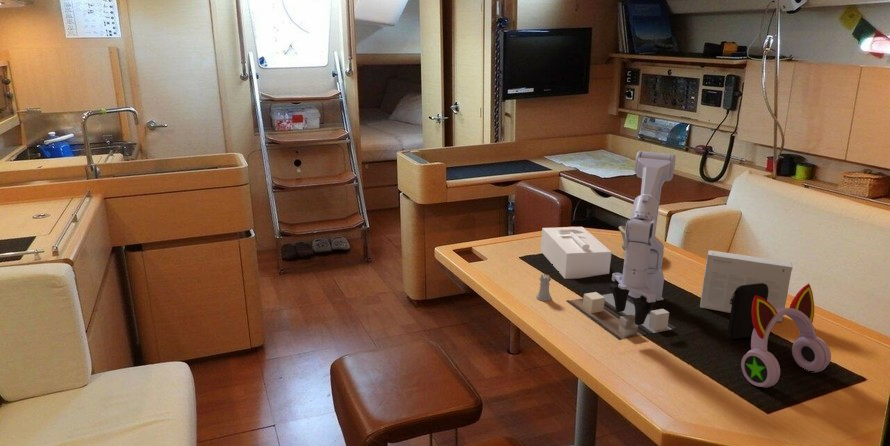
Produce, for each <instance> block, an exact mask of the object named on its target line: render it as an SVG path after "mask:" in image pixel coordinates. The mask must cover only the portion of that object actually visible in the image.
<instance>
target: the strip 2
mask: <svg viewBox="0 0 890 446" xmlns="http://www.w3.org/2000/svg"><path fill="white" fill-rule="evenodd" d="M601 295H602V296H603V297H605V301H606V302H608V303H609V304H611V305H612V306H614V307H615V301H614V297H613V293H612V292H611V293H607V294H606V293H605V294H601ZM615 308H616V307H615ZM621 312H623V313H624V314H626V315H631V314H633V315H635V306H634V304H633V303H631V302H629V301H628V300H627V301H626V307H625V310H624V311H621ZM669 317H670V312H669V311H668V310H666V309H664V308H659V309H655V310H654V309H653V310H650V314H649V313H648V315H647V317H646V319H645V321H644V324H641V325H642V326H644V327H645V328H647V329H648V330H650V331H651V332H653V333H652V334H655V333H661V332H665V331H672V328H671V327H669V326H668V323H669Z"/></svg>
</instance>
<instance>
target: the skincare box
mask: <svg viewBox="0 0 890 446" xmlns="http://www.w3.org/2000/svg"><path fill="white" fill-rule="evenodd" d="M792 271H793V263H792V261H785V260H779V259H773V258H772V259H771V258H766V257H759V256H751V255H745V254H738V253H731V252H724V251H717V250H711V249H709V250H708V252H707V257H706V263H705V270H704V274H703V275H704V276H703V280H702V281H703V282H702V288H701V296H700V304H699V307H700V308H701V309H705V310H706V309H708V310H713V311H719V312H724V313H728V314H730V313H731V307H732V304H730V300H731V298H732V295H733V293H734V292H735V290H736V288H737V287H739V286H741V285H748V284H757V283H765V284H766V285H767V286H768V291H769V292H768V298H767V301H768V302H769V303H770V304H771V305H772V306H773V307H782V308H786V303H787V299H788V293H789V288H790V282H791V281H790V280H791V275H792ZM783 321H784V315H783V316H782V317H780V318H779V319H778V320H777V321H776V322H779V323H783Z"/></svg>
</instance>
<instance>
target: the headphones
mask: <svg viewBox="0 0 890 446" xmlns="http://www.w3.org/2000/svg"><path fill="white" fill-rule="evenodd" d="M814 301H815V300H814V293H813V290H812V287H811V285H810V283H807V284H806V285H804V286H803V287H802V288H801V289H800V290H799V291H798V292H796V294H795V296H794V298H793V299H792V300H791V303H789V304H790V305H789V307H785V308H782V307H773V306H772V305H771V304H770V303H769V302H768V301H767V300H765V299H764V298H762V297H760V296H756V295H755V297H754V299H753V303H752V322H753V326H754V329H753V332H752V337H750V338H751V339H750V348H751V349H750V350H748V351H747V352H746V353H745V354H744V355H743V356H742V358H741V361H740V362H741V364H740V366H741V371H742V375H743V376H744V378H745V379H746V380H747V381H748V382H749V383H750V384H751V385H754V387H755V386H756V387H761V388H770V387H772V386H775V385H776V384H777V383H778V381H779V379H780V376H781V368H780V367H781V366H780V363H779V361H778V359H777V358H776V357H775V355H774V354H773V353H772V352H770V351H768V341H769V335H770V333H771V331H772V329H773V327H774V325H775V324H776V323H777V322H778V321H777V320H778V319H779V318H780V317H782V316H783V317H784V316H787V317H788V318H790V319H791V320H792V321H793V322H794V323H795V325H796V328H797V330H798V332H799V336H798V337H797V338H796V339H795V340H794V341H793V344H792V346H791V353H792V357H793V359H794V361H795V362H796V364H797V365H798V366H799V367H800V368H801V367H802V369H803V368H804V369H803V370H805V369H806V370H805V371H807V370H808V371H807V372H809V371H814V372H813V373H819V372H822V371H824V370H825V369H826V368H827V367H828V365H829V364H830V363H831V361H832V353H831V349H830V347H829V346H828V344H827V343H826V341H825V340H823V339H822V338H821V337H819V336H817V333H816V330H815V329H816V328H815V326H814V324H813V322H814V317H815V302H814Z"/></svg>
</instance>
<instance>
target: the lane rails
mask: <svg viewBox="0 0 890 446" xmlns="http://www.w3.org/2000/svg"><path fill="white" fill-rule="evenodd" d="M565 301H566V303H568V304H569V305H570V306H572V307H573V308H575V309H576V310H578V311H579V312H580V313H581V314H583V315H585V317H587V318H589V319H590V320H591V321H592V322H594V323H595V324H596V325H598V326H600V328H602V329H603V330H605V331H607V332H608V334H610V335H612V336H613V337H615V339H617V340H619V341H620V340H623V339H622V338H620V337H619V336H618V335H616V334H615V333H614V332H612V331H611V330H609V329H608V328H607V327H605V326H604V325H602V324H601V323H600V322H598V321H597V320H596V319H594V318H593V317H591V316H590V315H589V314H587V313H586V312H585V311H583V310H582V309H580V308H579V307H578V306H576V305H575V304H573V303H572V302H571V301H570V299H567V300H565ZM627 301H629V302H630V303H632V304H633V305H634V302H633V299H630V298H629V297H627ZM607 306H608V307H607ZM609 307H610V308H611V309H610V308H609ZM604 309H605V310H606V311H608V312H609V313H611V314H612V315H614V316H615V317H617V318H618V319H620V317H621V316H626V314H624V313H623V312H617V311H616V308H615V307H614V306H612V305H611V304H609V303H608V302H606V301H604ZM613 310H614V311H613ZM650 311H651V310H650ZM650 311H649V313H648V314H649V315H650ZM616 312H617V313H616ZM668 327H670V328H671V330H676V328H677V327H676V326H674V325H673V324H671V323H669V322H668ZM640 328H641V329H640ZM643 330H644V331H645V332H644V331H643ZM637 332H639V333H640V334H641V336H646V334H647V333H648V334H650V335H651V334H654V333H653V332H651V331H650V330H648V329H647V328H645V327H644V326H642V325H641V324H640V325H638V331H637ZM646 332H647V333H646Z"/></svg>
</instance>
